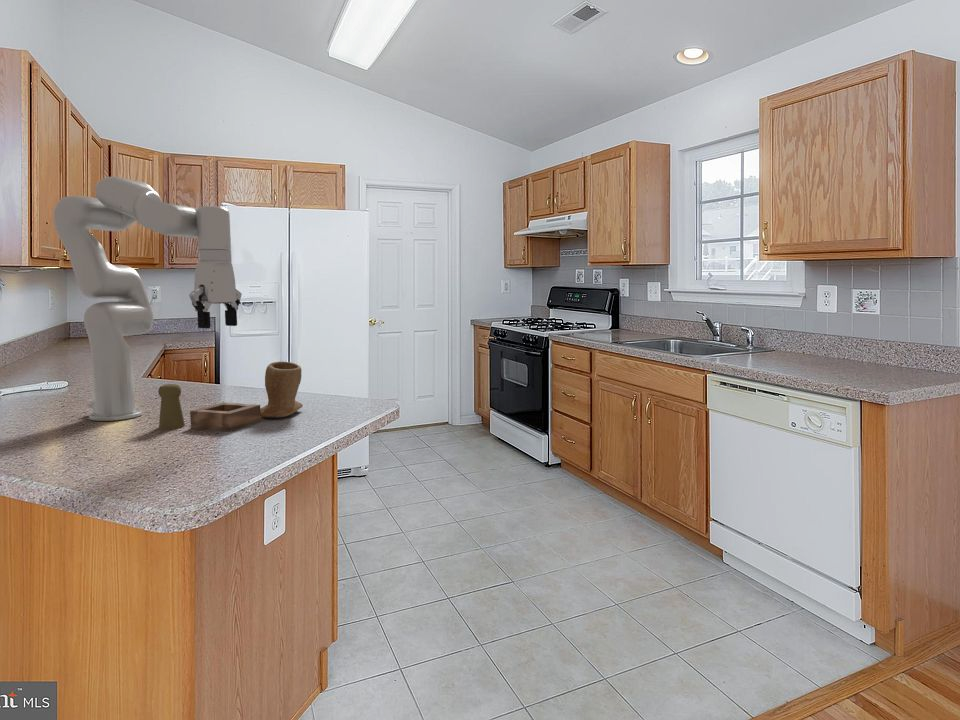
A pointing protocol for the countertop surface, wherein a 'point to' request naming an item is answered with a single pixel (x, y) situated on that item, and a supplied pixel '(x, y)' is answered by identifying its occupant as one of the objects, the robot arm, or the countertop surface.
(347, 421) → the countertop surface
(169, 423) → the olive knobbed peg
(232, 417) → the socket block
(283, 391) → the stone cup
